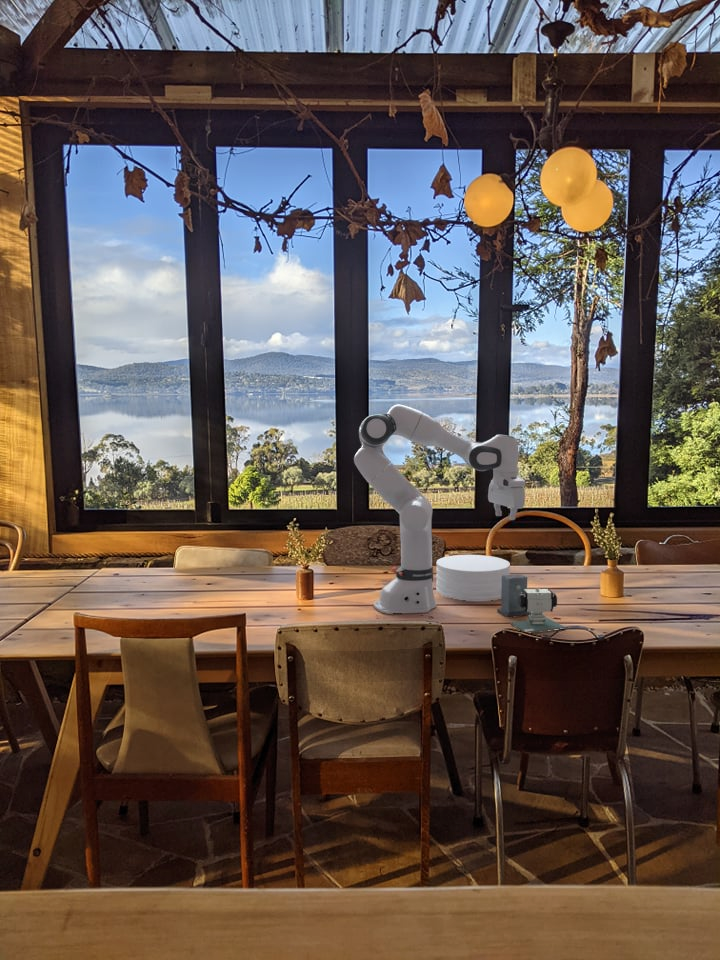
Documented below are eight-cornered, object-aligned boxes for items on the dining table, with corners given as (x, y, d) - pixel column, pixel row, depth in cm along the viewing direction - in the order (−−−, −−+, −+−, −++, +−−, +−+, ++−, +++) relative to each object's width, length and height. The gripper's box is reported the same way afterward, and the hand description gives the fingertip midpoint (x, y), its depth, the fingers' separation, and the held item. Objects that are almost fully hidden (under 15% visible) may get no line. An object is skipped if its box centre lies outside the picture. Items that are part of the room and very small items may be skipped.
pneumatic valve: (516, 621, 223) (517, 585, 222) (552, 621, 223) (553, 585, 222) (521, 627, 218) (521, 590, 216) (557, 626, 218) (558, 590, 216)
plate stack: (425, 596, 257) (425, 566, 256) (451, 579, 282) (451, 552, 281) (497, 605, 244) (497, 574, 243) (517, 587, 269) (518, 558, 268)
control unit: (507, 618, 230) (507, 579, 228) (497, 612, 236) (497, 574, 235) (530, 615, 232) (531, 577, 231) (520, 609, 239) (520, 572, 237)
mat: (526, 634, 213) (526, 631, 213) (510, 624, 223) (510, 621, 223) (565, 629, 217) (565, 626, 217) (547, 620, 227) (547, 617, 227)
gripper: (484, 477, 253) (483, 514, 254) (512, 482, 233) (511, 522, 235) (499, 476, 255) (498, 513, 256) (528, 482, 235) (527, 521, 237)
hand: (505, 517), depth 245 cm, fingers open, 8 cm apart
